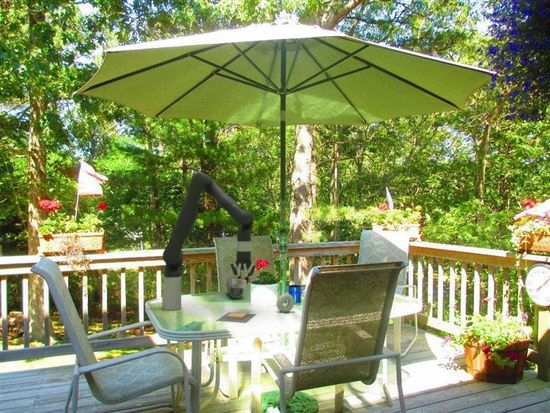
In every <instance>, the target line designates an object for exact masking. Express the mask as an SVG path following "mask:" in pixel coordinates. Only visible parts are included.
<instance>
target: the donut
mask: <svg viewBox="0 0 550 413" xmlns="http://www.w3.org/2000/svg"><path fill="white" fill-rule="evenodd" d="M285 301H287V303H286V305H284V302H285ZM294 303H295V300H294V297H293V296H292V295H291V294H289V293H286V292H285V293H282V294H281V295H279V296H278V298H277V300H276V307H277V310H278V311H279V312H281V313H285V314H286V313H289V312H291V311H292V310H293V308H294V306H295V304H294Z"/></svg>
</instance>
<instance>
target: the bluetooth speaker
mask: <svg viewBox="0 0 550 413" xmlns="http://www.w3.org/2000/svg"><path fill="white" fill-rule="evenodd" d="M233 279H235V280H237V279H238V278H235V277H231V278H229V279H228V280H227V282H226V286H225V287H226V290H227V292H228V294H229V295H230V296H231V297H232V298H233V299H236V298H240V297H241V296H242V295H243V294H244V289H243V288H232V280H233Z"/></svg>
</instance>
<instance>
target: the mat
mask: <svg viewBox="0 0 550 413" xmlns="http://www.w3.org/2000/svg"><path fill="white" fill-rule="evenodd" d="M230 313H231V311H228V312H227V313H225V314H224V315H223V316H221V317H219V318H218V319H216V320H215V321H216V322H227V323H238V324H239V323H241V324H247V323H248V322H249V321H251V320H252V319H253V318H254V317H256V315H257V313H248V315H247V316H246V317H245V318H244V319H242V320H240V319H227V315H228V314H230Z"/></svg>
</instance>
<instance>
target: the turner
mask: <svg viewBox="0 0 550 413" xmlns="http://www.w3.org/2000/svg"><path fill="white" fill-rule="evenodd" d="M245 277H246V275H245V276H242V277H241V278H240V279H238V278H236V279H237V280H235V279H233V280H232V288H243V290H245V289H247V286H251V284H252V276H249V283H248V284H246V282H247V280H245Z"/></svg>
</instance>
